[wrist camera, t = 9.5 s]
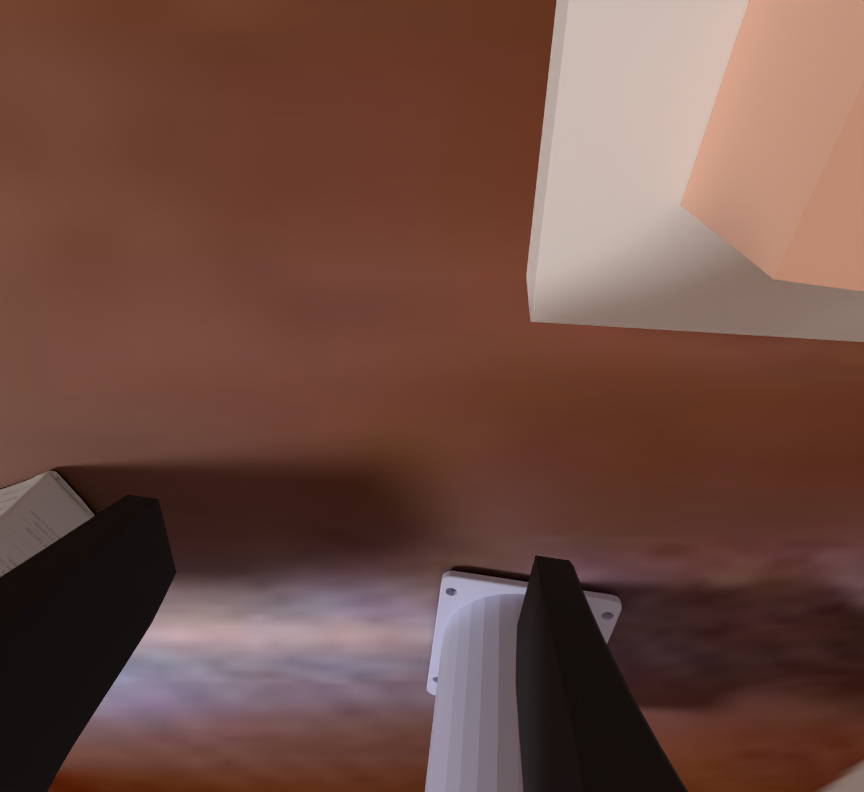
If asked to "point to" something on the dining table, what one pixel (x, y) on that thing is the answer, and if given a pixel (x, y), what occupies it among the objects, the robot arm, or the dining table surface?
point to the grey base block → (649, 183)
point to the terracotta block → (789, 144)
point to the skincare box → (37, 517)
